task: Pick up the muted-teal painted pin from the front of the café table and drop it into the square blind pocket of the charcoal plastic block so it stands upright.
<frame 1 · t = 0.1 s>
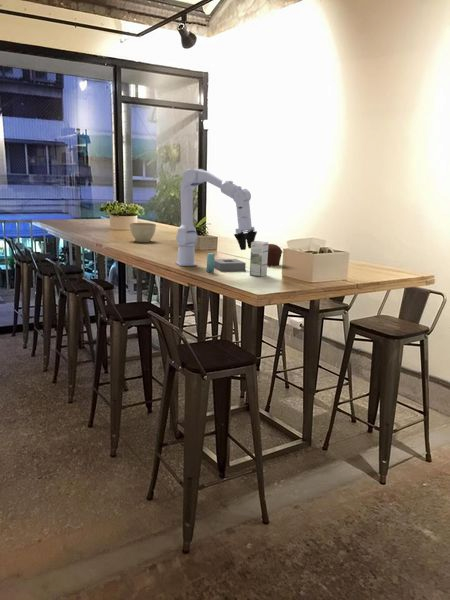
hand: (247, 249, 227), 11 cm above the table, tool pointing down, fingers open, 7 cm apart
pin: (210, 271, 228), on the table
muffin: (270, 265, 254), on the table
syrup box: (258, 275, 224), on the table
socket block: (228, 268, 238), on the table
planter bowl: (142, 241, 326), on the table
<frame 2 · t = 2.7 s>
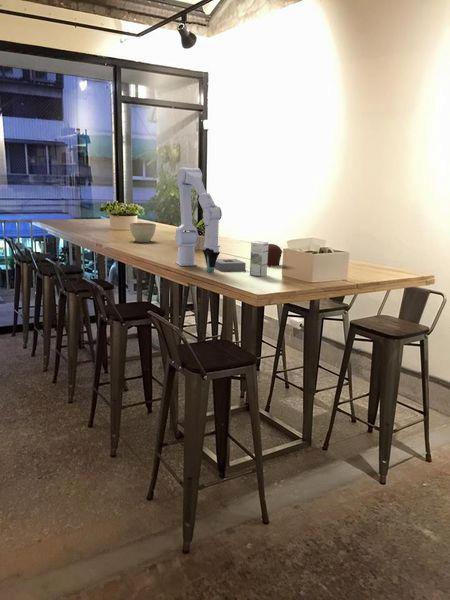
hand: (210, 266, 227), 2 cm above the table, tool pointing down, fingers closed on pin, 3 cm apart
pin: (210, 271, 228), on the table, touching gripper
everything else where it was.
when the fingers open (4 cm above the table, at t = 6.7 s): pin drops 1 cm, resting on socket block.
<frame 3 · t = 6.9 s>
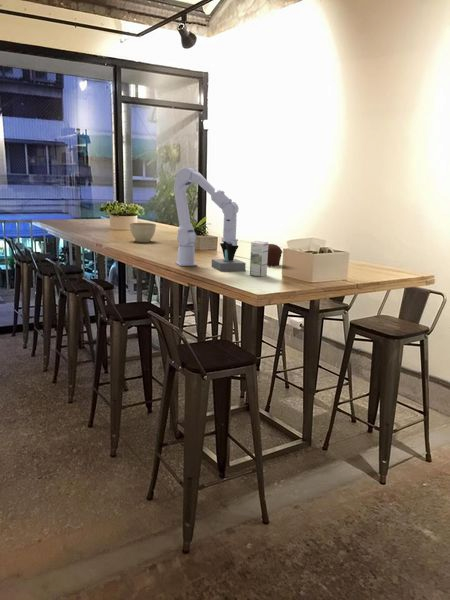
hand: (228, 259, 237), 4 cm above the table, tool pointing down, fingers open, 5 cm apart
pin: (228, 267, 238), point 1 cm above the table, touching socket block
everything else where it was.
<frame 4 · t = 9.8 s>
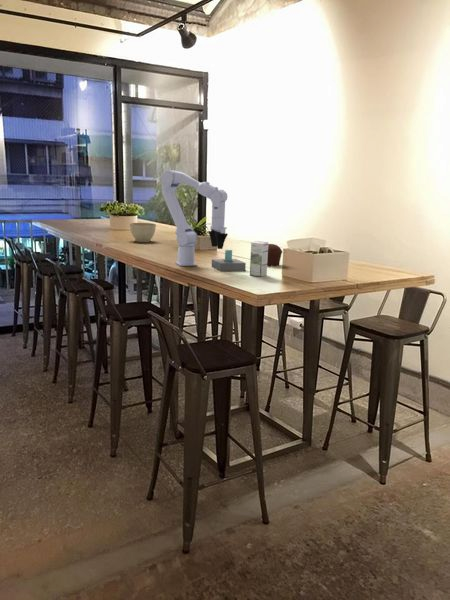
hand: (217, 247, 236), 9 cm above the table, tool pointing down, fingers open, 7 cm apart
nothing on the table moved.
at the end: pin 0.1 cm off-centre on the socket block, point 0.5 cm above the socket block's base; pin tilted 0°; the gripper is holding nothing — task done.
